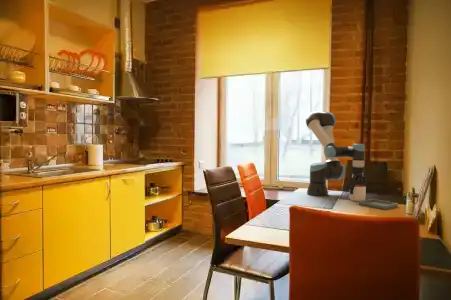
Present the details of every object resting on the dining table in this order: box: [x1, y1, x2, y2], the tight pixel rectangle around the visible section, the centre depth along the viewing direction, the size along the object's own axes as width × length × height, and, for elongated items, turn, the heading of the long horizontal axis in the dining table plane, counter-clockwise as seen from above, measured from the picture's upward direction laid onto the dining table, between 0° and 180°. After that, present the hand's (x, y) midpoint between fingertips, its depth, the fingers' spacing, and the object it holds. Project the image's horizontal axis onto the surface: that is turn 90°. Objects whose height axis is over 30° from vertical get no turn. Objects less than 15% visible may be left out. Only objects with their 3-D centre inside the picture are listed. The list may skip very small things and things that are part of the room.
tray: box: [358, 198, 399, 211], centre depth 206 cm, size 17×17×2 cm
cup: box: [348, 184, 367, 203], centre depth 223 cm, size 10×10×10 cm
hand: (357, 198), depth 223 cm, fingers open, 13 cm apart
